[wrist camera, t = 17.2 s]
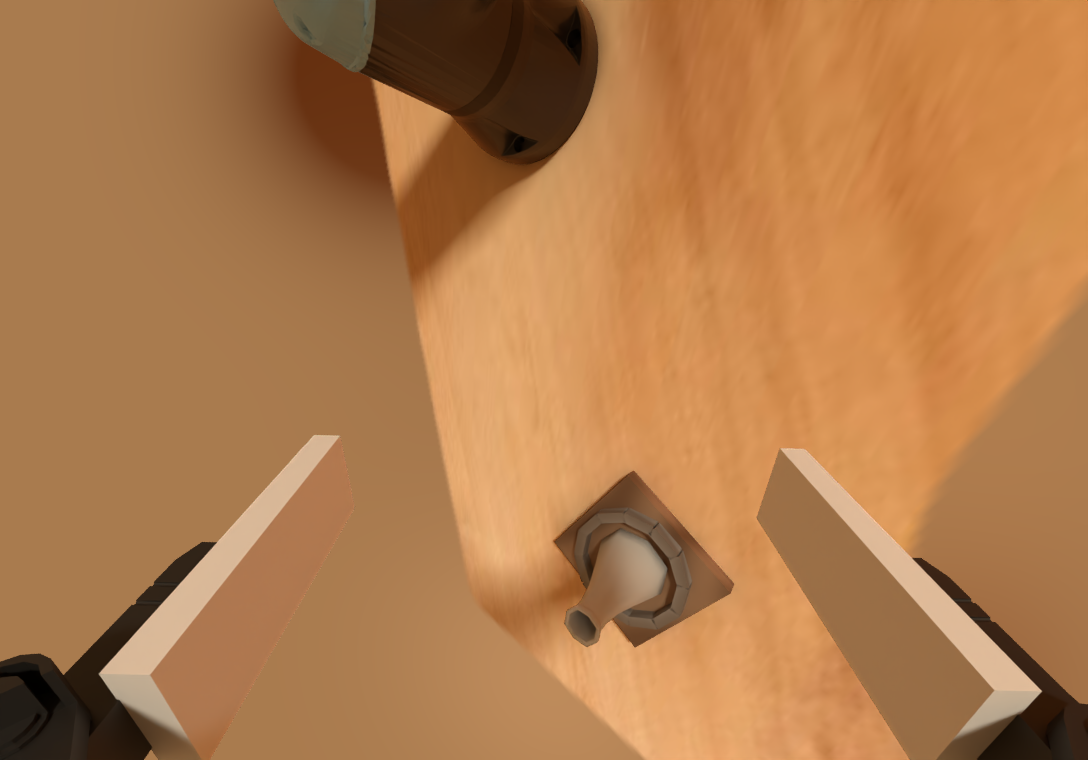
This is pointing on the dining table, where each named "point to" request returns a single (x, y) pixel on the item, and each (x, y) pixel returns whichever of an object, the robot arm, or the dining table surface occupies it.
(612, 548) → the flask
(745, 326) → the dining table surface
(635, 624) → the walnut seat board
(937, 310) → the dining table surface
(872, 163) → the dining table surface
